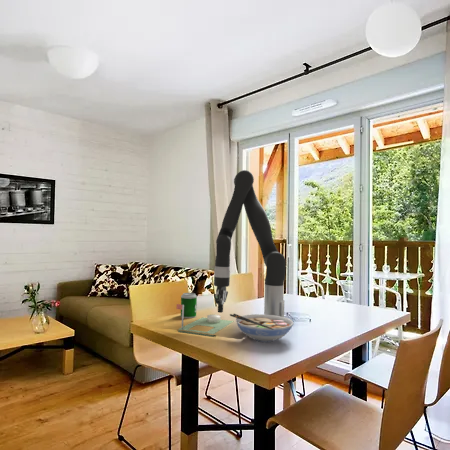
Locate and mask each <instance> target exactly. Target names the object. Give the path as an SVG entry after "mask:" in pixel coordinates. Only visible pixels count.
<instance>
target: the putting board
mask: <svg viewBox="0 0 450 450" xmlns="http://www.w3.org/2000/svg"><path fill="white" fill-rule="evenodd" d="M176 310H180V311H181V310H182V317H181V327H179V328H178V329H177V333H182V334H188V335H197V336H203V337H210V338H215V337H216V336H217V335H215V334H217V333H218V332H219V331H221V330H223V329H224V328H226V327H227V326H229V325H231V324H232V323H233V322H234V320H228V319H222V318H220V322H219V323H209V322H207V317H201V318H198V319H195V321H192V322H190V323H187V324H185V325H184V319H185V318H184V305H181V303H180V304H179V303H176ZM195 326H202V327H204V326H205V327H210V328H211V327H212V328H211V329H209V330H208V331H205V330H204V331H202V330H195V329H192V328H194V327H195Z"/></svg>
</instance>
